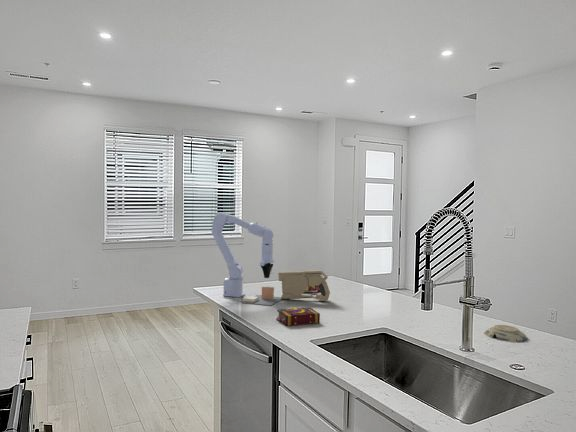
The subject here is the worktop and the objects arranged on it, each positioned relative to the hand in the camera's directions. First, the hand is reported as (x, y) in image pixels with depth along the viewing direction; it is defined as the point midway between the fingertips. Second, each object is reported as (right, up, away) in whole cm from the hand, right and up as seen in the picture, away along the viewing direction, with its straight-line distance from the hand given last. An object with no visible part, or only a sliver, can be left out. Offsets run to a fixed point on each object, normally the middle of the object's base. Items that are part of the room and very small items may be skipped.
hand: (266, 277), depth 232 cm
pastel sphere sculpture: (+20, -10, +20) cm, 30 cm away
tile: (+1, -9, -9) cm, 13 cm away
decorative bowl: (+94, -14, -63) cm, 114 cm away
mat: (-1, -10, -11) cm, 15 cm away
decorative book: (+15, -12, -47) cm, 51 cm away
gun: (+19, -10, -9) cm, 23 cm away
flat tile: (-7, -9, -14) cm, 18 cm away
